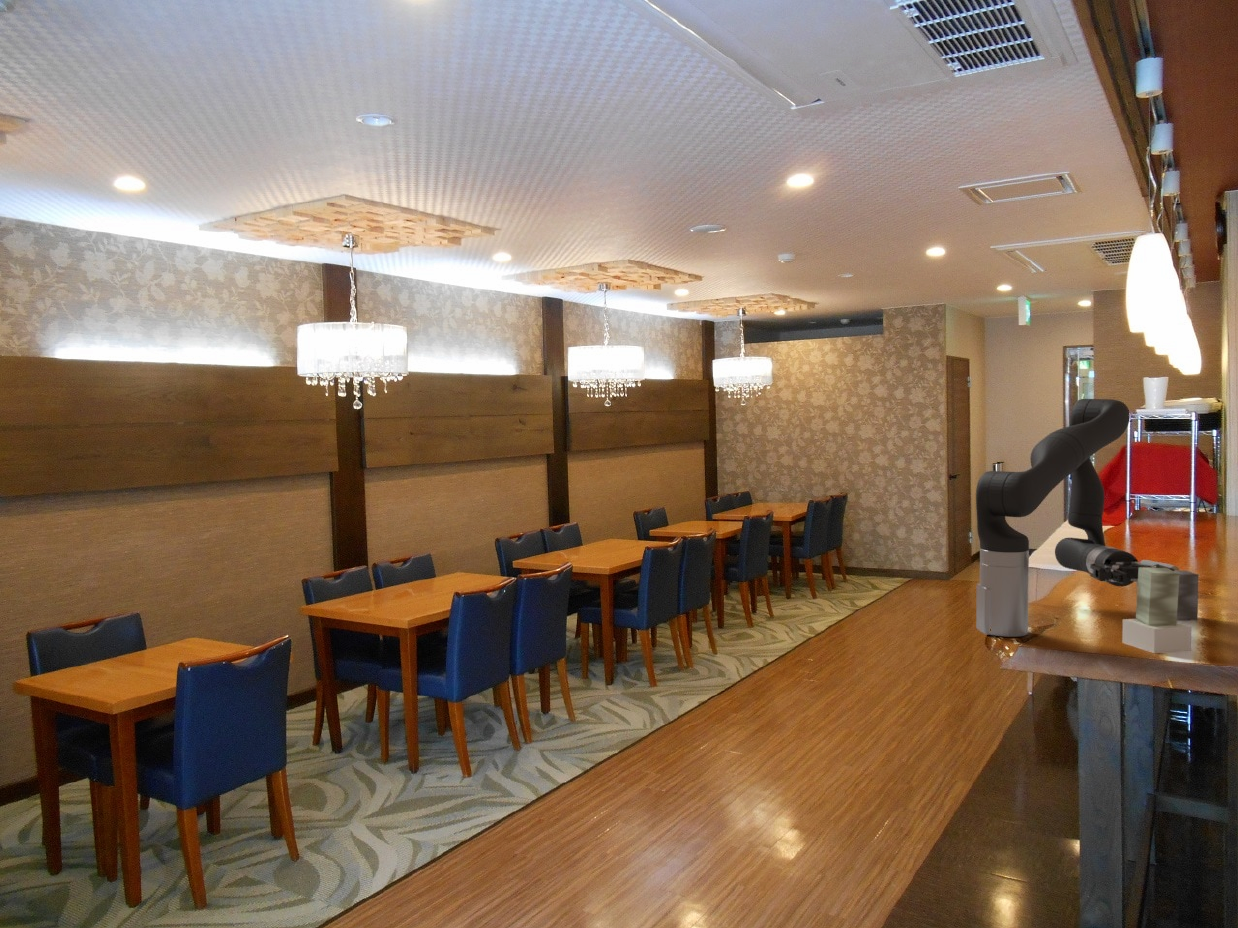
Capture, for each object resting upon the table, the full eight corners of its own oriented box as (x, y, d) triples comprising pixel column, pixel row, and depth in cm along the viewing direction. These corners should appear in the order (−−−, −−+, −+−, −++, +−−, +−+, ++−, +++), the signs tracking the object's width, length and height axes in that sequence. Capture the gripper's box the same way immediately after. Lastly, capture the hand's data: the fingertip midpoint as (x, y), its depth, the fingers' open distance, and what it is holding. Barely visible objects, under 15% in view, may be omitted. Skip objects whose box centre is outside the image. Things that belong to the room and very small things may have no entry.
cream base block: (1154, 654, 165) (1154, 628, 165) (1122, 644, 173) (1122, 618, 172) (1191, 652, 166) (1191, 625, 166) (1157, 641, 174) (1158, 616, 174)
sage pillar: (1148, 624, 167) (1151, 572, 166) (1135, 617, 172) (1138, 567, 171) (1176, 625, 167) (1179, 573, 166) (1162, 618, 171) (1165, 567, 171)
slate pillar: (1173, 619, 191) (1173, 574, 191) (1161, 614, 196) (1162, 570, 196) (1197, 620, 191) (1198, 574, 190) (1185, 615, 196) (1186, 570, 195)
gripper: (1077, 547, 189) (1110, 559, 173) (1147, 548, 187) (1187, 560, 171) (1076, 582, 189) (1109, 597, 173) (1147, 583, 187) (1186, 598, 171)
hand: (1148, 579), depth 172 cm, fingers open, 8 cm apart
